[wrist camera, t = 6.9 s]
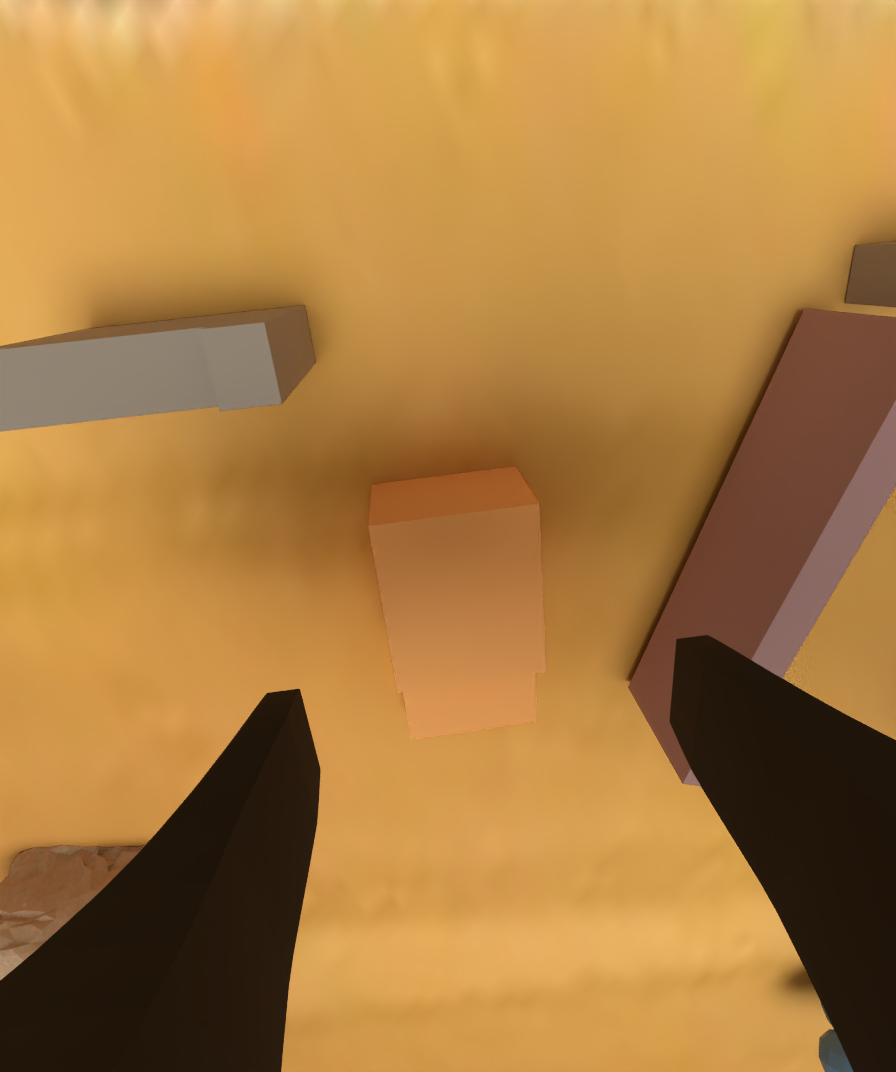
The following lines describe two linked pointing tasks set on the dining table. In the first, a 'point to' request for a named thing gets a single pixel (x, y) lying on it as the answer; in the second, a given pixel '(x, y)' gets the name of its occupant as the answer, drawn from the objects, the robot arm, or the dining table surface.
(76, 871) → the brick
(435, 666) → the orange brown block
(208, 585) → the dining table surface
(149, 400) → the wall frame
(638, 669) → the door
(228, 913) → the robot arm
